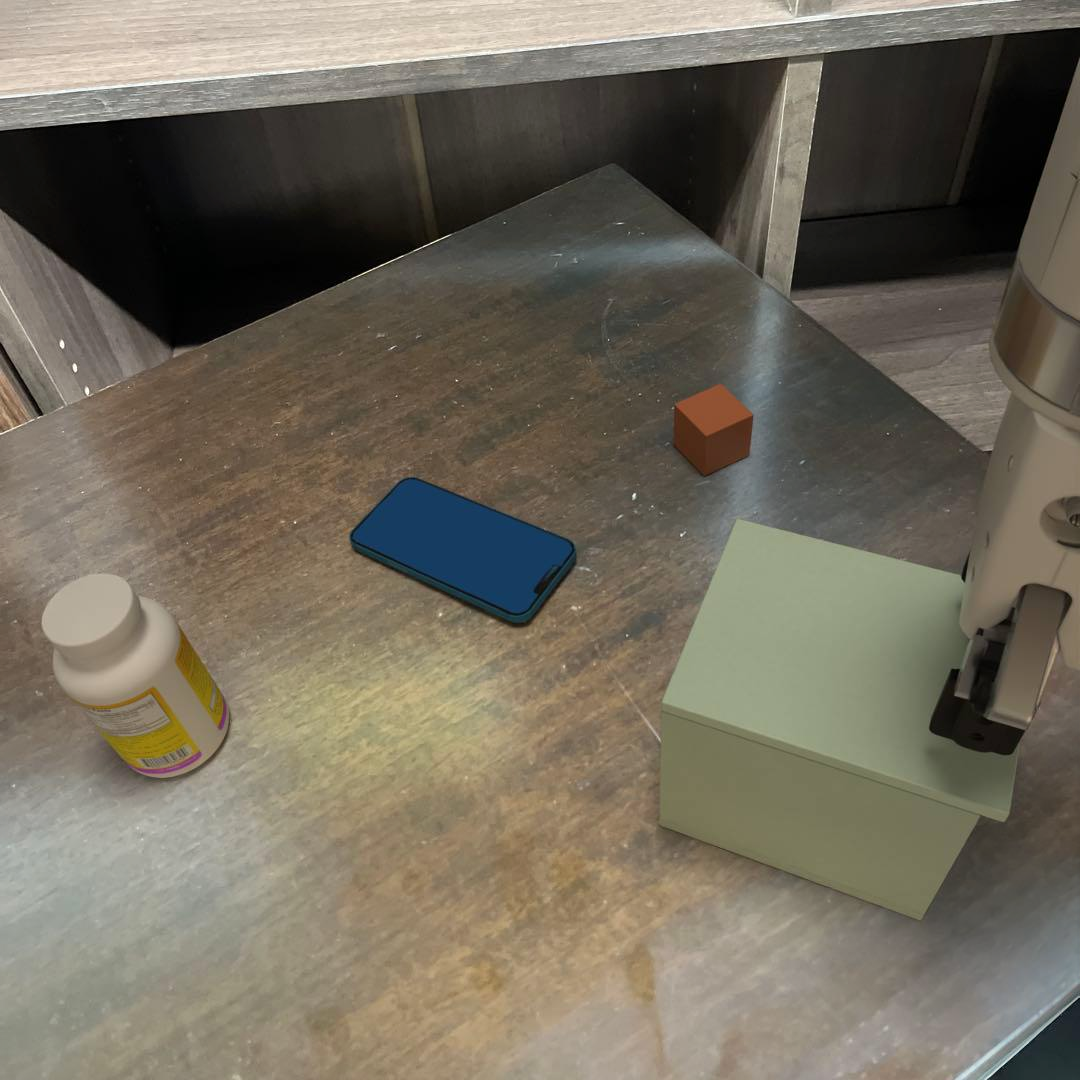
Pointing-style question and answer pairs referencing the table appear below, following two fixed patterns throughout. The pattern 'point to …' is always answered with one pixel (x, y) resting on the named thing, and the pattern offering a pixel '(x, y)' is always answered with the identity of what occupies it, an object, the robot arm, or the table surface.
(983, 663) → the box lid
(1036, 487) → the robot arm
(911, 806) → the green box
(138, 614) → the supplement bottle
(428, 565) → the smartphone
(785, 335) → the table surface
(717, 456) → the block
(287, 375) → the table surface
